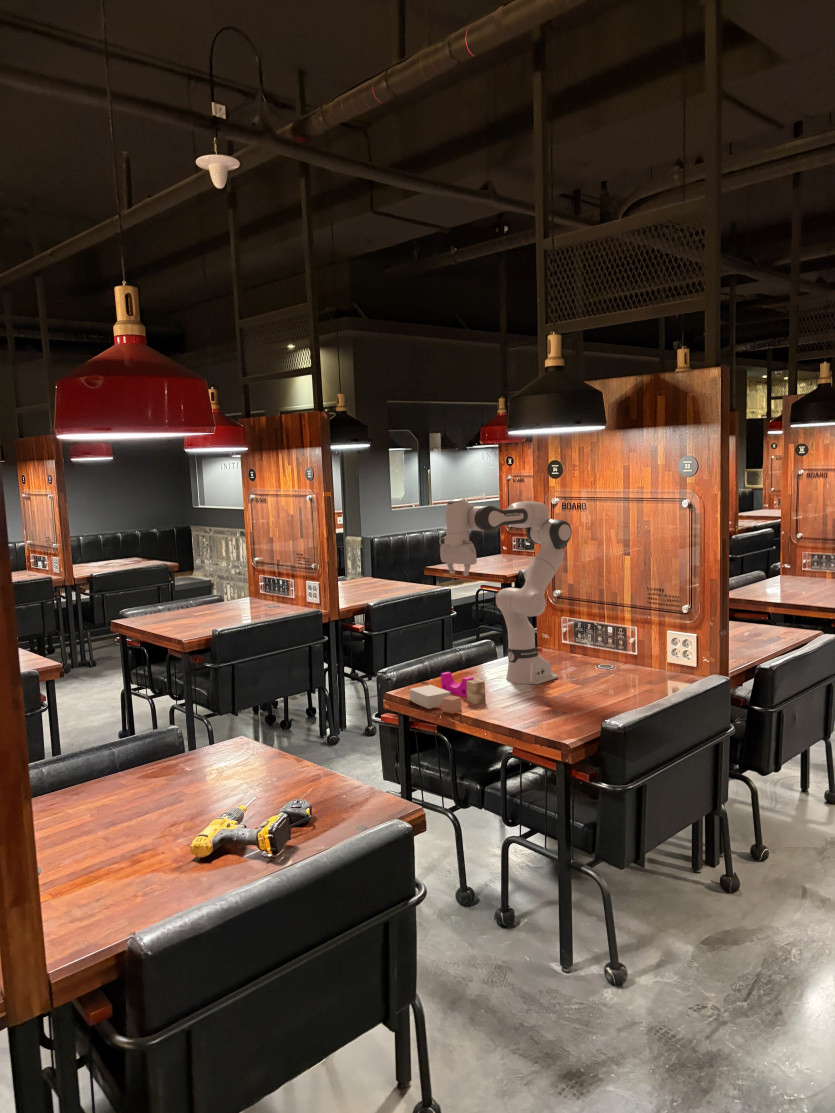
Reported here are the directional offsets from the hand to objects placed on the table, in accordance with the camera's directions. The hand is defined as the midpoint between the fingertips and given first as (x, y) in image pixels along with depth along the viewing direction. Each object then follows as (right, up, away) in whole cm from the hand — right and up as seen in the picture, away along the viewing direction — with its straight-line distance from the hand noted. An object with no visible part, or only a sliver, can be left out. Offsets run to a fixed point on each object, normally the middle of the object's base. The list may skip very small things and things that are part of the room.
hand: (459, 574), depth 317 cm
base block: (-12, -49, -10) cm, 51 cm away
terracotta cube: (-4, -50, -23) cm, 55 cm away
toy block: (+1, -48, +2) cm, 48 cm away
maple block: (+6, -48, -12) cm, 50 cm away
